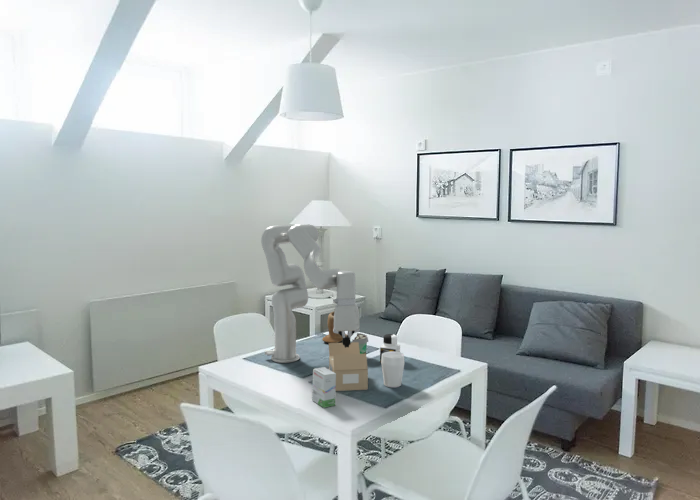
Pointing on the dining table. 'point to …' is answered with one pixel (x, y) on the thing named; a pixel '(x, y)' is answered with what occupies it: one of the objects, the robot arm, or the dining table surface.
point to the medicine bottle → (389, 344)
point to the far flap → (343, 348)
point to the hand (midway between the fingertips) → (346, 346)
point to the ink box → (324, 387)
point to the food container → (361, 342)
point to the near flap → (350, 362)
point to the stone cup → (332, 336)
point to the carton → (349, 378)
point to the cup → (392, 368)
